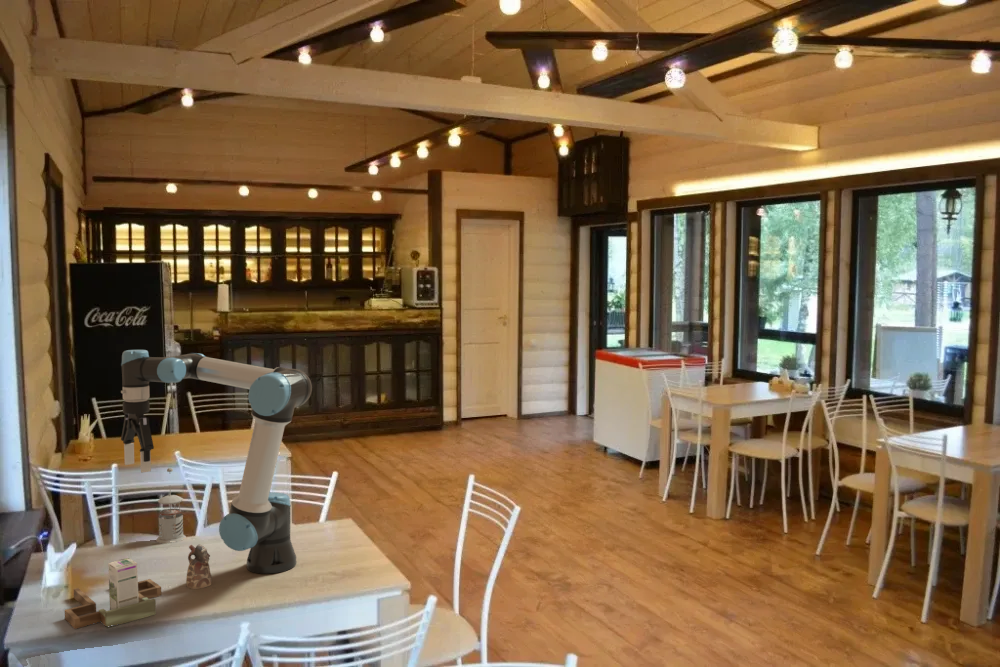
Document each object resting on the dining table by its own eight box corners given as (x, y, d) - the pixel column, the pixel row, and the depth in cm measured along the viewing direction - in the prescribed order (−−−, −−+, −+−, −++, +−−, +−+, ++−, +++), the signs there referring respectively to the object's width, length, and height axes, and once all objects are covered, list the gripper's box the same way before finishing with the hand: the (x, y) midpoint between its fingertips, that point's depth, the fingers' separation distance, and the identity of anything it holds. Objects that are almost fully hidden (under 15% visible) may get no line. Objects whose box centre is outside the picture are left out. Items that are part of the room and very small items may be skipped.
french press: (151, 543, 273) (149, 471, 271) (163, 532, 284) (162, 463, 283) (180, 543, 273) (179, 471, 272) (191, 532, 285) (190, 463, 283)
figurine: (206, 589, 233) (205, 548, 232) (182, 588, 233) (181, 548, 232) (215, 580, 240) (214, 540, 239) (192, 579, 240) (191, 540, 239)
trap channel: (49, 603, 221) (49, 589, 221) (141, 580, 239) (141, 567, 238) (81, 635, 202) (80, 619, 202) (178, 607, 219) (178, 593, 219)
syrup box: (139, 614, 215) (138, 562, 214) (117, 621, 210) (115, 567, 209) (131, 608, 218) (130, 556, 218) (108, 615, 214) (107, 562, 213)
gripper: (109, 396, 252) (110, 463, 254) (138, 405, 234) (140, 477, 236) (133, 394, 257) (135, 459, 259) (164, 403, 240) (165, 473, 241)
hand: (137, 468), depth 247 cm, fingers open, 13 cm apart
